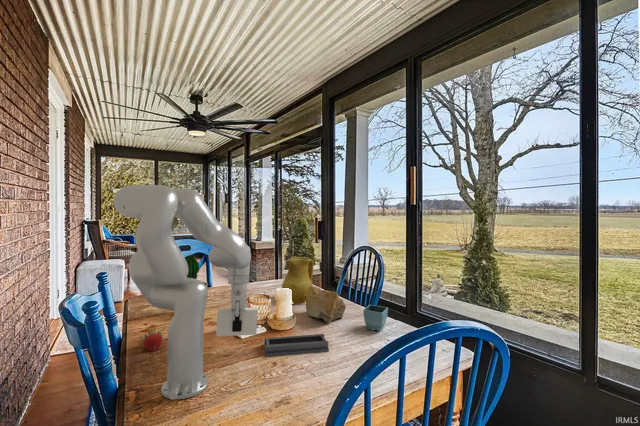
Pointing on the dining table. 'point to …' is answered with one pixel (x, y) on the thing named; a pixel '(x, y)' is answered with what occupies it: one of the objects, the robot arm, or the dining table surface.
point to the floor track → (295, 345)
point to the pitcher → (299, 278)
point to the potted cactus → (193, 267)
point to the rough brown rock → (324, 304)
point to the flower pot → (375, 317)
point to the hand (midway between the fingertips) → (237, 329)
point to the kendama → (152, 340)
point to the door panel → (227, 319)
